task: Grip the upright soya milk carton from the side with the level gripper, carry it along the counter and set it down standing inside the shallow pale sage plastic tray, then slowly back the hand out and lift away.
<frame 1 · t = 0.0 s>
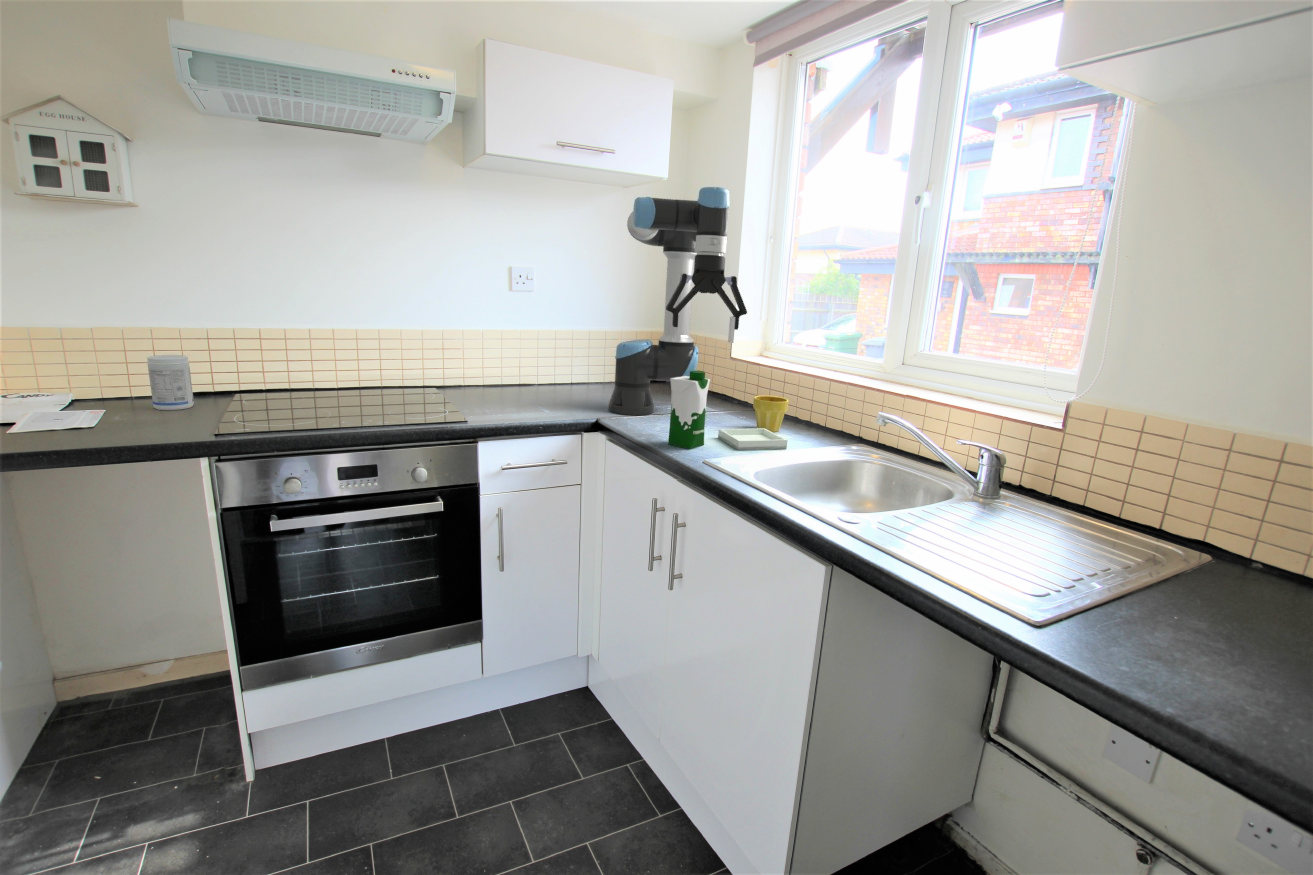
hand: (704, 341, 165), 28 cm above the worktop, tool pointing down, fingers open, 13 cm apart
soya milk: (685, 445, 175), on the worktop
plant pot: (768, 430, 199), on the worktop
supplement tub: (174, 408, 188), on the worktop
sage tray: (751, 443, 181), on the worktop
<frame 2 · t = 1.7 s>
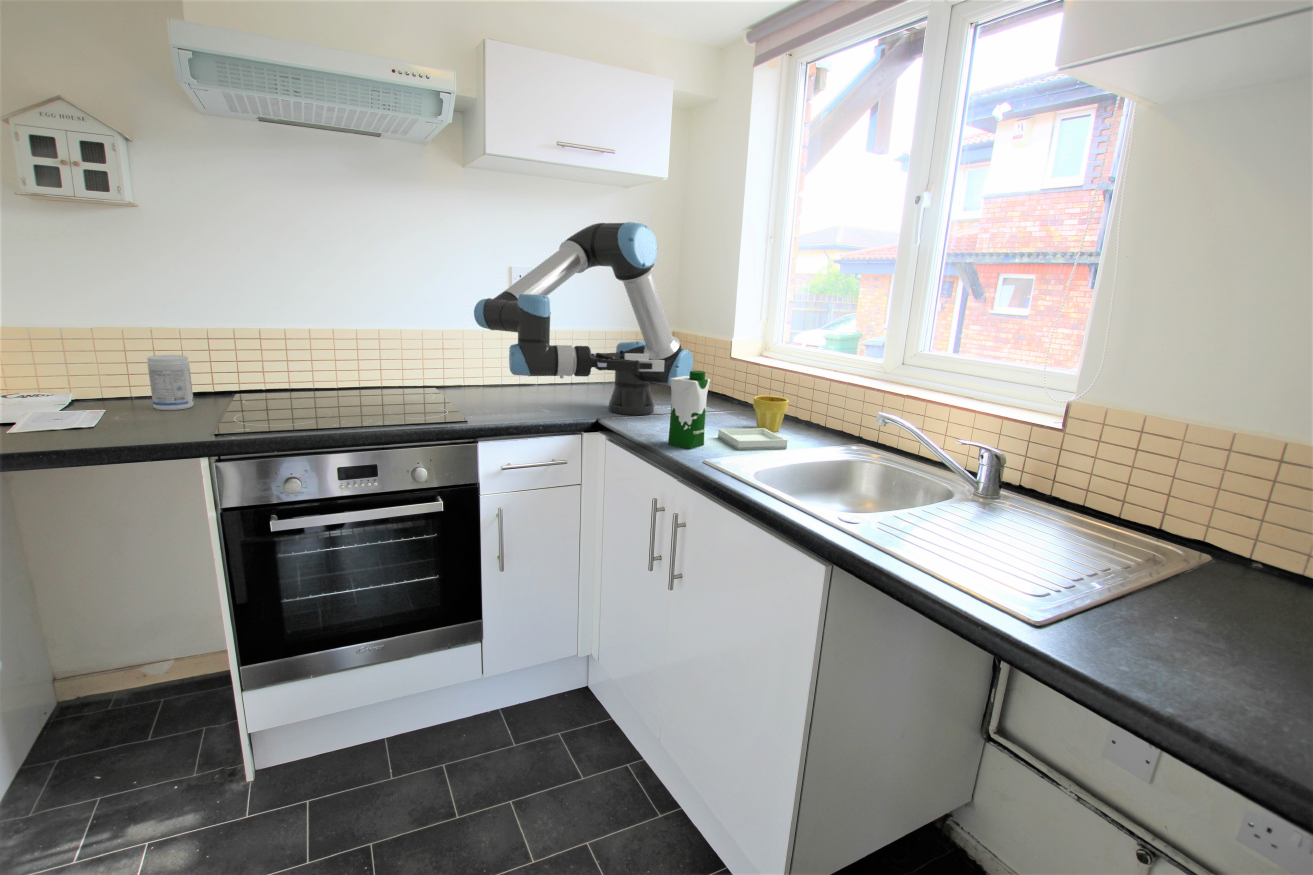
hand: (655, 362, 167), 22 cm above the worktop, tool horizontal, fingers open, 13 cm apart
nothing on the worktop moved.
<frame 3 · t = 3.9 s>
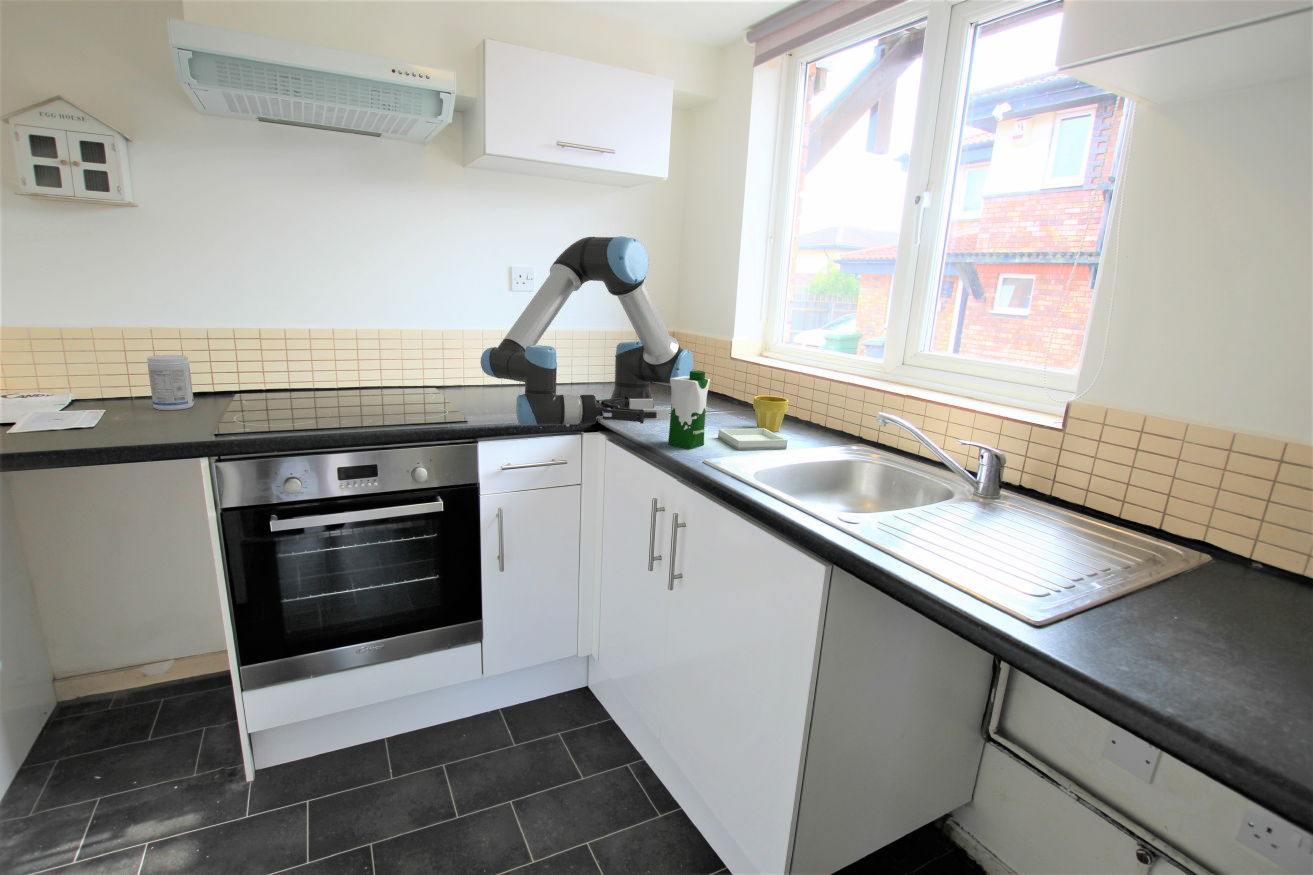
hand: (660, 409, 170), 10 cm above the worktop, tool horizontal, fingers open, 13 cm apart
nothing on the worktop moved.
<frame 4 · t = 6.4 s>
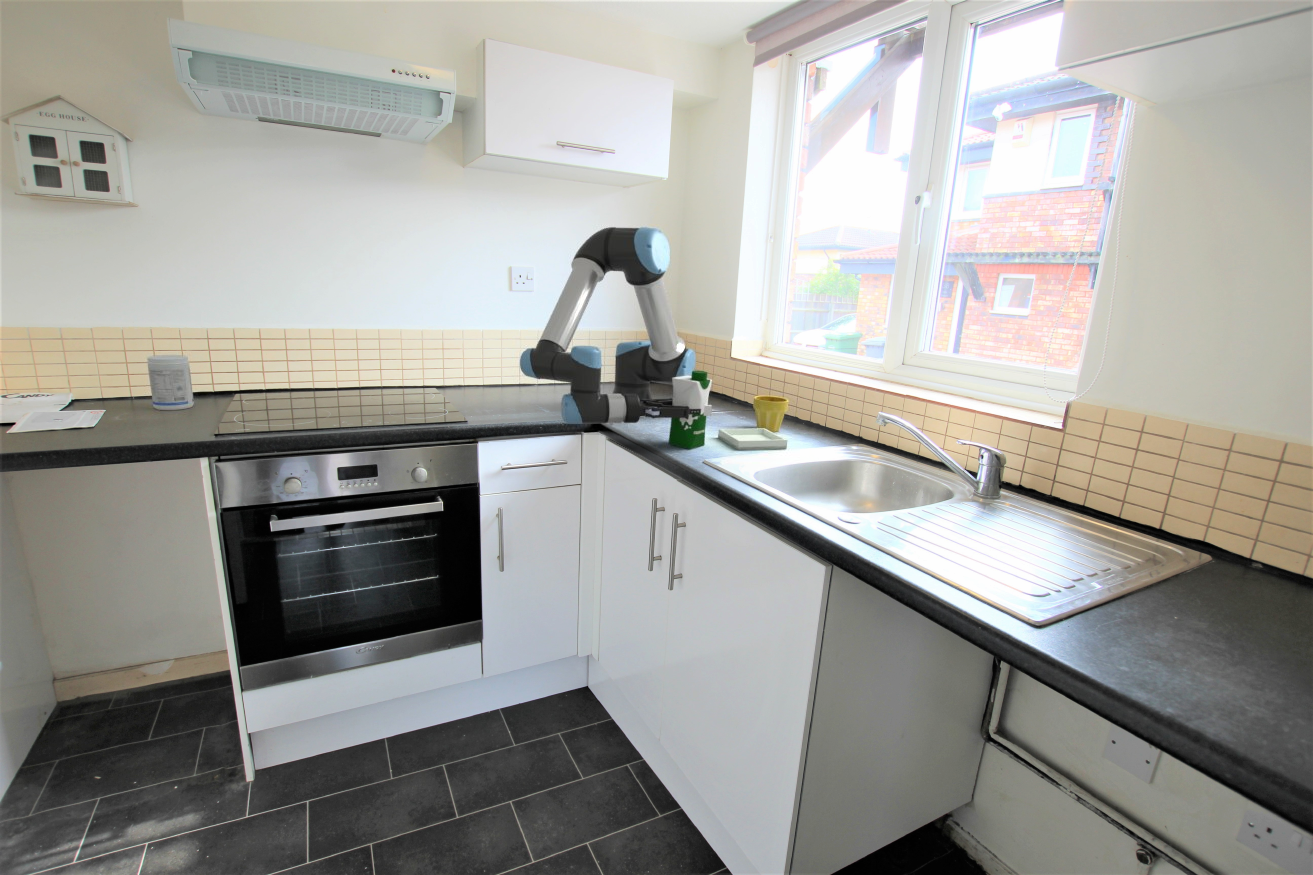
hand: (705, 407, 174), 10 cm above the worktop, tool horizontal, fingers closed on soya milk, 7 cm apart
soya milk: (686, 445, 175), on the worktop, touching gripper
everything else where it was.
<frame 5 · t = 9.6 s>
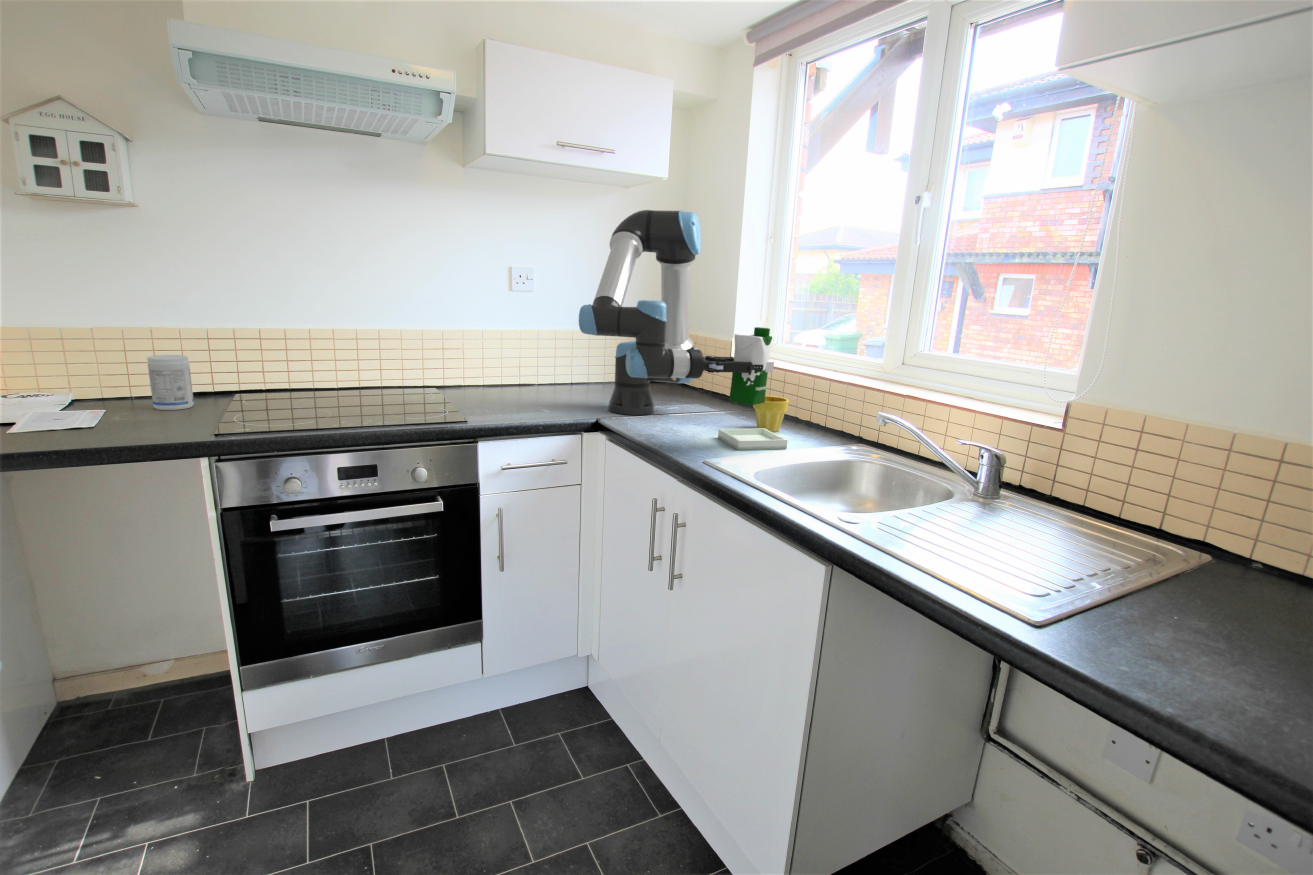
hand: (766, 365, 175), 22 cm above the worktop, tool horizontal, fingers closed on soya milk, 7 cm apart
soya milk: (746, 402, 176), point 12 cm above the worktop, touching gripper
everything else where it was.
when the fingers open (12 cm above the worktop, at t = 12.7 s): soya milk stays where it is, resting on sage tray.
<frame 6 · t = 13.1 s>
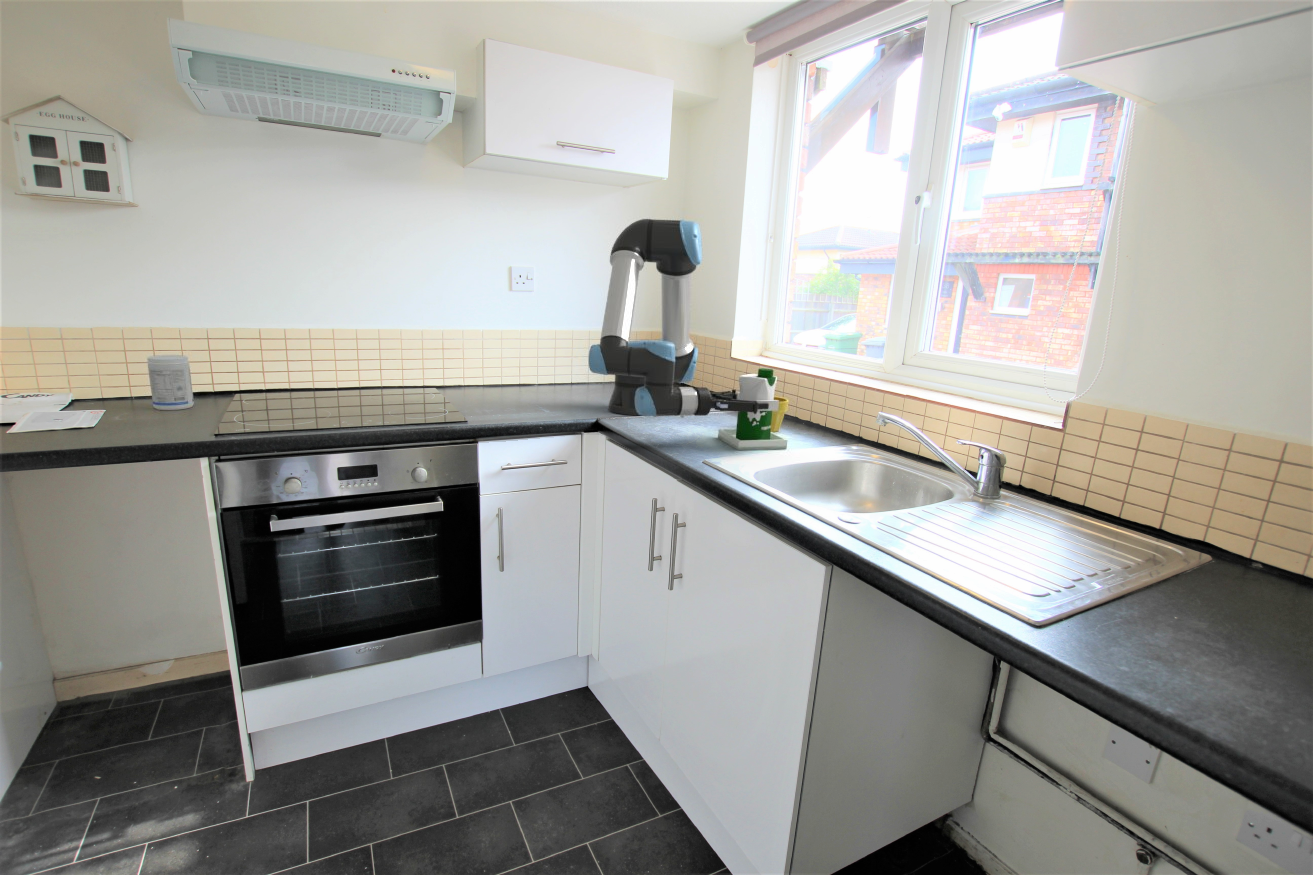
hand: (767, 401, 179), 12 cm above the worktop, tool horizontal, fingers open, 11 cm apart
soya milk: (752, 441, 180), point 1 cm above the worktop, touching sage tray
everything else where it was.
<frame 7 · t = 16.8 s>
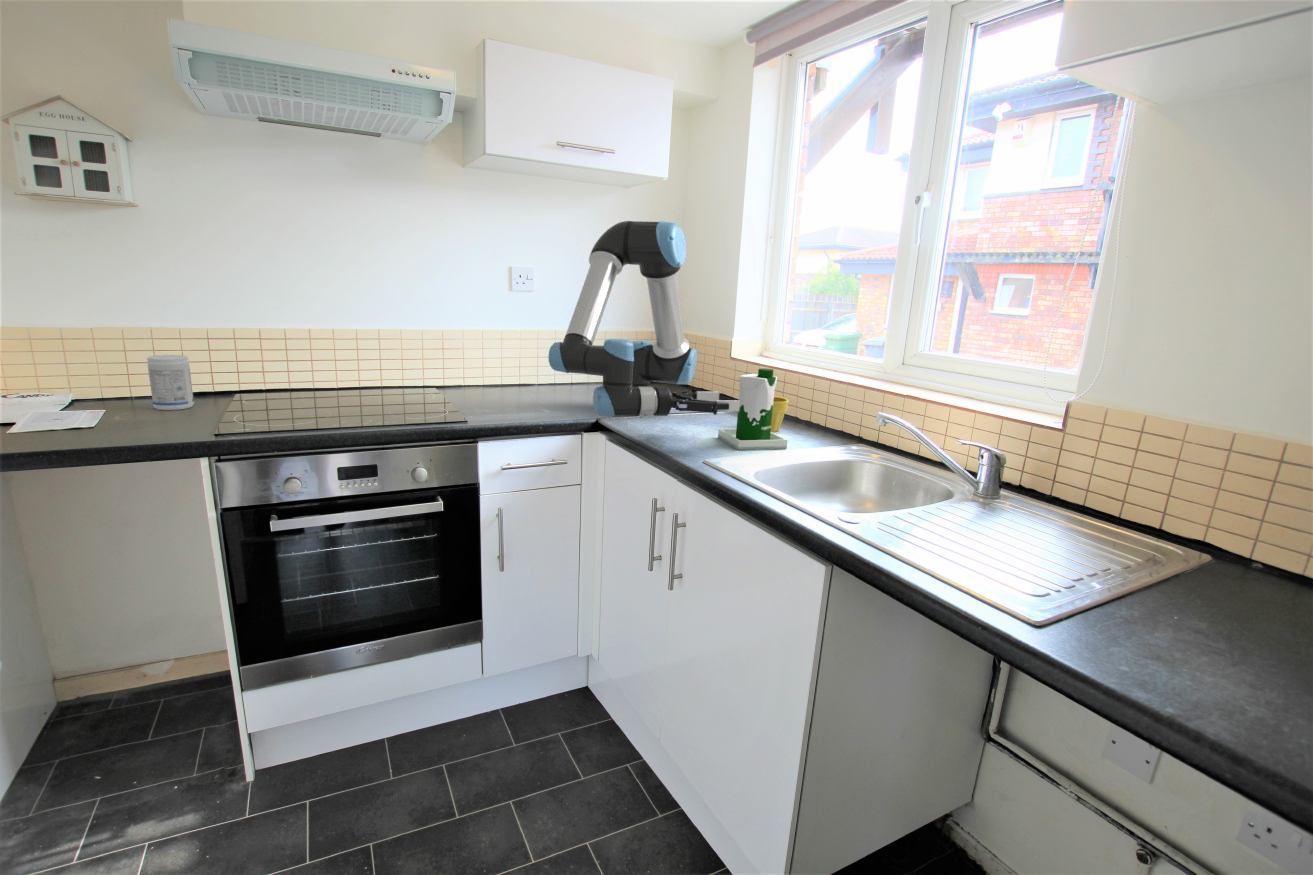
hand: (728, 401, 176), 12 cm above the worktop, tool horizontal, fingers open, 13 cm apart
nothing on the worktop moved.
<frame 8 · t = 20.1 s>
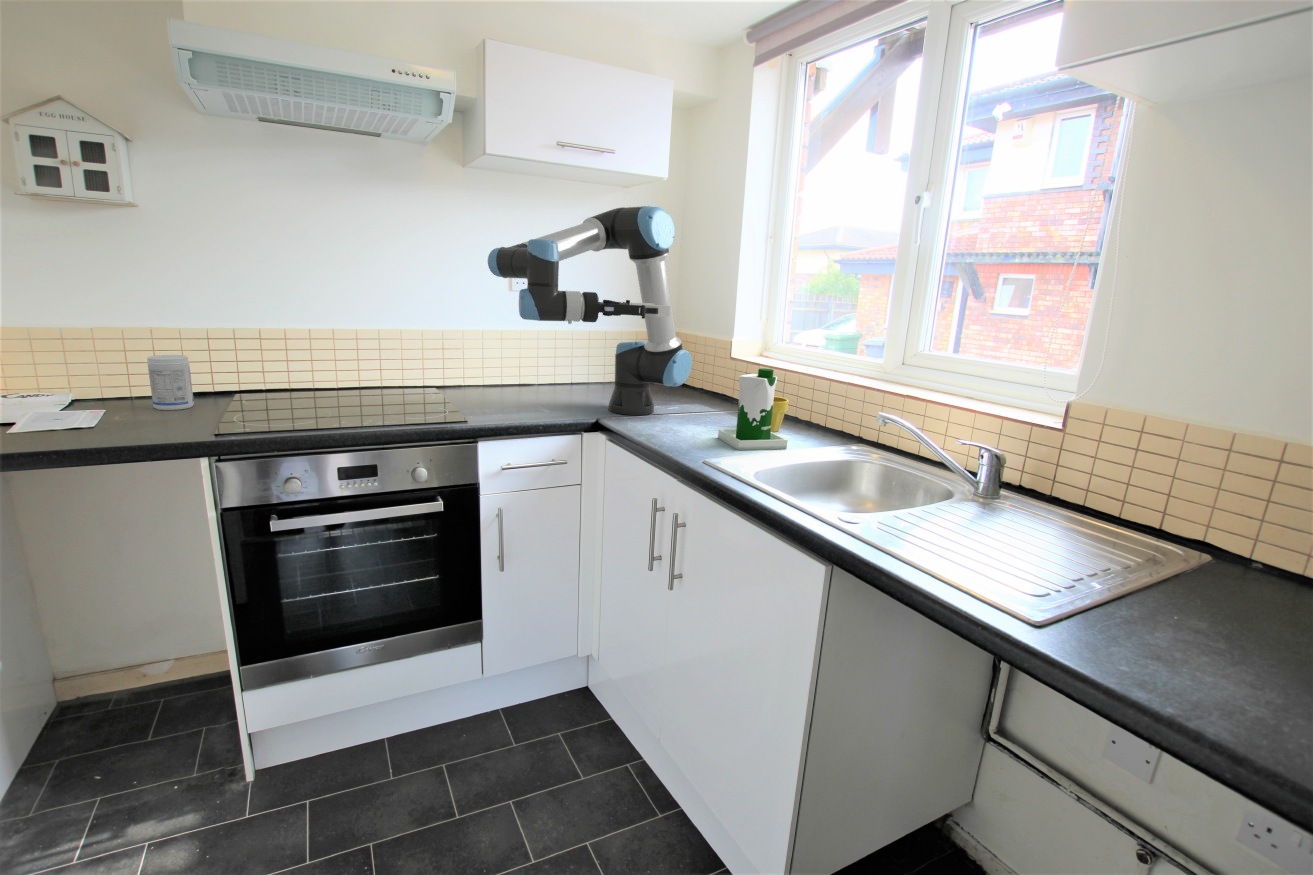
hand: (661, 310, 171), 35 cm above the worktop, tool horizontal, fingers open, 13 cm apart
nothing on the worktop moved.
at the end: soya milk 0.3 cm off-centre on the sage tray, point 0.6 cm above the sage tray's base; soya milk tilted 0°; the gripper is holding nothing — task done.
